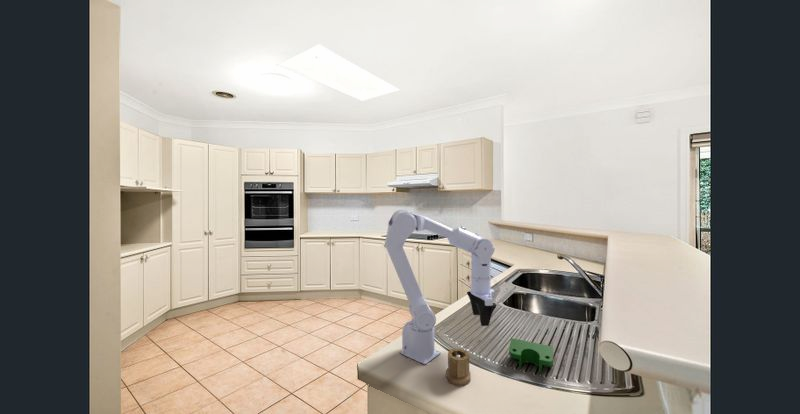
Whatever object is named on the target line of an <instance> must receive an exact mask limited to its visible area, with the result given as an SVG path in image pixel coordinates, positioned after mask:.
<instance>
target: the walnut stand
mask: <svg viewBox="0 0 800 414" xmlns="http://www.w3.org/2000/svg"><path fill="white" fill-rule="evenodd" d="M445 380H446V381H447V383H449V384H451V385H453V386H456V387H457V386H458V387H462V386H468V385H469V384H470V383H471V371H470V370H469V375H468V376H467V377H466V378H465V379H456V378H454V377H452V376H450V375H449V372H448V367H447V368H446V370H445Z"/></svg>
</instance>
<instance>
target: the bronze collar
mask: <svg viewBox="0 0 800 414" xmlns="http://www.w3.org/2000/svg"><path fill="white" fill-rule="evenodd" d="M456 355H460V356H461V358H456V357H455V356H456ZM447 368H448V372H449V375H450V376H452V377H454V378H456V379H465V378H466V377H467V376H468V375H469V371H470V354H469V353H468V351H467V350H464V349H461V348H452V349H450V350H449V351H448V352H447Z"/></svg>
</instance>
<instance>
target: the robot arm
mask: <svg viewBox="0 0 800 414" xmlns="http://www.w3.org/2000/svg"><path fill="white" fill-rule="evenodd" d="M424 230H426V231H428V232H431V233H432V234H436V235H438V236H441V237H442V238H443V237H444V238H446V239H447V240H448V243H449V244H450V245H451V246H454V247H456V248H459V249H461V250H463V251H466V252H468V253H470V255H471V257H470V258H471V261H470V263H471V266H470V267H471V269H470V270H471V271H470V273H471V275H470V277H471V278H470V291H466V294H467V296H468V299H469V302H470V305H471V311H472V314H473V315H474V316H479V320H480V326H482V327H488V326H490V323H491V318H492V316H493V313H494V310H495V309H496V308H497V304H496V302H494V300H493V298H492V294H495V290H494V289H492V286H491V284H492V281H491V276H492V275H491V273H492V271H491V270H492V269H491V266H492V265H491V264H492V263H491V259H492V256H493V254H494V253H495V247H494V245H493V243H492V241H490V240H489V239H488V238H485V237H483V236H480V234H479V233H477V232H476V233H473V232H471V231H469V230H467V228H466V227H464V226H462V225H461V226H460V227H459V226H455V227H452V228H451V227H448V226H447V225H445V224H442V223H440V222H438V221H435V220H433V219H432V218H429V217H427V216H424V215H421V214H417V213H413V212H408V211H407V210H404V209H400V210H399V209H398V210H397V211H395V212H394V213H393V214H392V215H391V217H390V219H388V223H387V231H386V237H385V241H384V245H385V248H386V250H387V252H388V255H389V258H390V260H391V262H392V265H393V267H394V271H395V272H396V274H397V277H398V278H399V282H400V284H401V286H402V289H403V292H404V294H405V295H406V299H407V301H408V304H409V310H408V311H409V314H410V315H411V317H412V319H411V320H409V321H407V322H406V323H405V324H404V326H403V328H402V332H401V333H402V334H401V335H402V336H401V338H402V339H401V340H402V342H401V343H402V350H401V351H400V354H401V355H403V356H405V357H408V358H409V359H412V360H414V361H417V362H418V363H421V364H423V365H427V364H428V363H430V362H431V361H432V360H434V359H435V358H436V357H437V356H439V355H441V351H439V350H437V349H435V326H436V323H437V317H436V315H435V313H434V312H433V310H432V309H431V308H430V305H429V303H428V301H426V300H425V297H424V296H423V293H422V290H421V288H420V286H419V283H418V280H417V278H416V275H415V274H414V271H413V268H412V265H411V264H410V261H409V258H408V256H407V254H406V252H405V249H404V245H405V243H406V241H407V238H409V237H410V236H411V235H412V234H413V233H414V231H417V232H420V231H424Z"/></svg>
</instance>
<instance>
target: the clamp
mask: <svg viewBox="0 0 800 414" xmlns="http://www.w3.org/2000/svg"><path fill="white" fill-rule="evenodd" d="M508 354H509V357H511V358H512V359H513V360H517V361H518V365H519V366H518V367H519V369H522V366H523V364H525V363H530V364H532V365H533V364H534V365H536V366H537V367H538V374H542V370H543V369H542V367H546V368H547V367H548V368H552V367H553V366H554V345H553V346H552V345H547V344H543V343H542V344H541V343H536V342H532V341H528V340H527V341H526V340H521V339H519V338H518V339H517V338H513V337H511V338H510V342H509V348H508Z"/></svg>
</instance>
